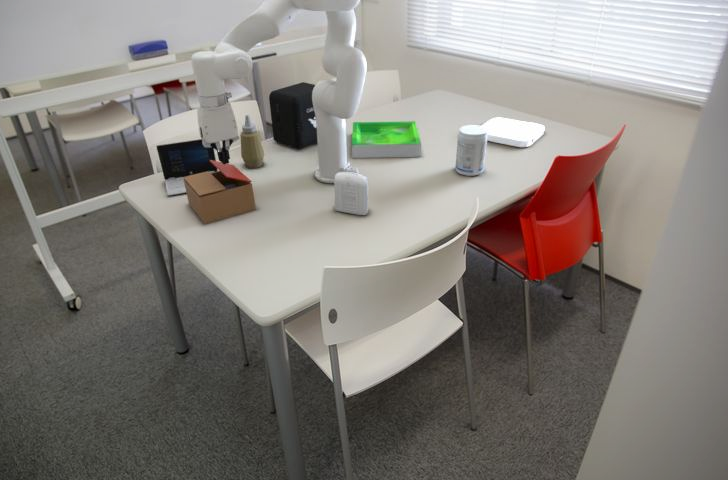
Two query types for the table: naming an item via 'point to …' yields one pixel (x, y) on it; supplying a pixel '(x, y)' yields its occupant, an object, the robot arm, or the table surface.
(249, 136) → the squeeze bottle
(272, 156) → the table surface
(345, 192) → the white upright block
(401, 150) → the tray
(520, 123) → the computer
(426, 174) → the table surface
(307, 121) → the black box-shaped case
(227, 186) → the block
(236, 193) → the carton
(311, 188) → the table surface
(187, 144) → the laptop
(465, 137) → the supplement tub
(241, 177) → the flap
